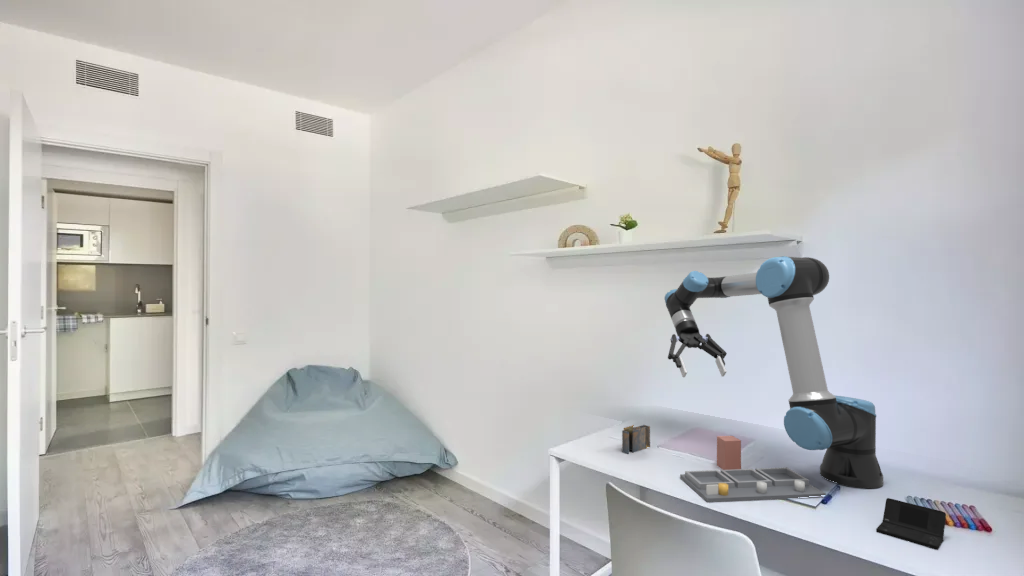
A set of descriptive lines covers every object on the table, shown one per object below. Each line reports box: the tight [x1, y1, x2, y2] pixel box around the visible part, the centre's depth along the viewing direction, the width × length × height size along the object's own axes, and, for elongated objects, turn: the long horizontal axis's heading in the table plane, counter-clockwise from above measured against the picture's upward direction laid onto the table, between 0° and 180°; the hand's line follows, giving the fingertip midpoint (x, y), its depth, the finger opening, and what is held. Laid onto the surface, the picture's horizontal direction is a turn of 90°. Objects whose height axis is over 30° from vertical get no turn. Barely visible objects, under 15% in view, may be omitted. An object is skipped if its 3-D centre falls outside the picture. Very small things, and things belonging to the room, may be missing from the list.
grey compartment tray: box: [679, 467, 827, 503], centre depth 142 cm, size 32×17×3 cm, turn 95°
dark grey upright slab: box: [621, 424, 651, 455], centre depth 175 cm, size 11×3×10 cm, turn 128°
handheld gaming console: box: [875, 497, 947, 551], centre depth 115 cm, size 12×7×10 cm
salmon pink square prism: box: [716, 435, 742, 470], centre depth 157 cm, size 5×5×9 cm
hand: (704, 374), depth 172 cm, fingers open, 13 cm apart
